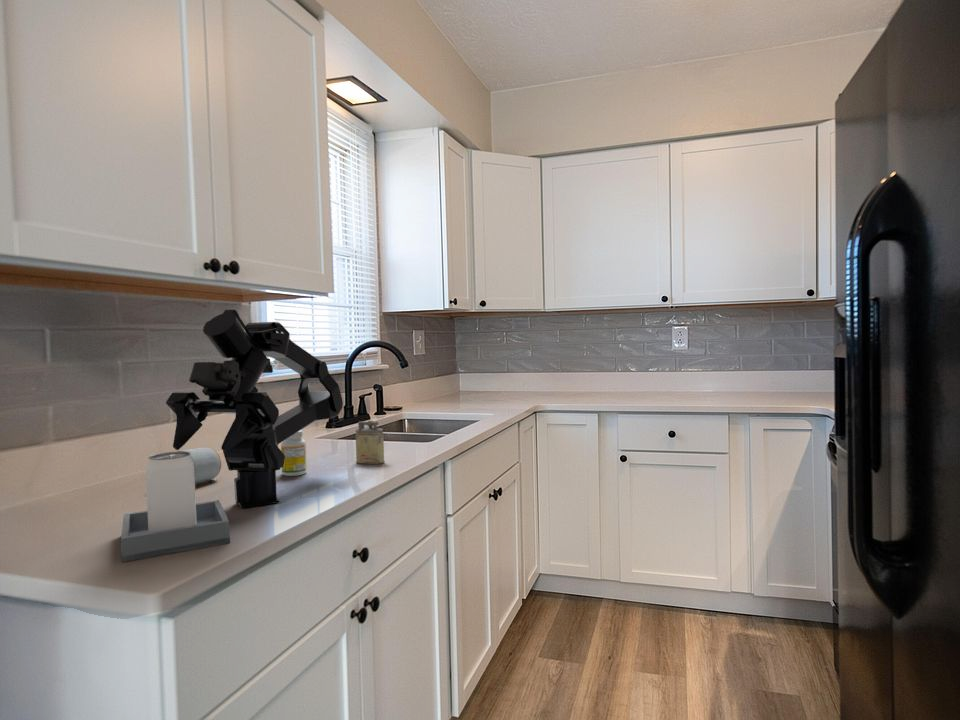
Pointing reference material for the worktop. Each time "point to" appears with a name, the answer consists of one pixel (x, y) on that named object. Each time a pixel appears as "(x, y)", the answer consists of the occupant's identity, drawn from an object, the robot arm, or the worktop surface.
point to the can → (170, 491)
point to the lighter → (369, 443)
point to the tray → (174, 533)
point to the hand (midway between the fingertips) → (199, 449)
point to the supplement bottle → (294, 455)
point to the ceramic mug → (204, 463)
